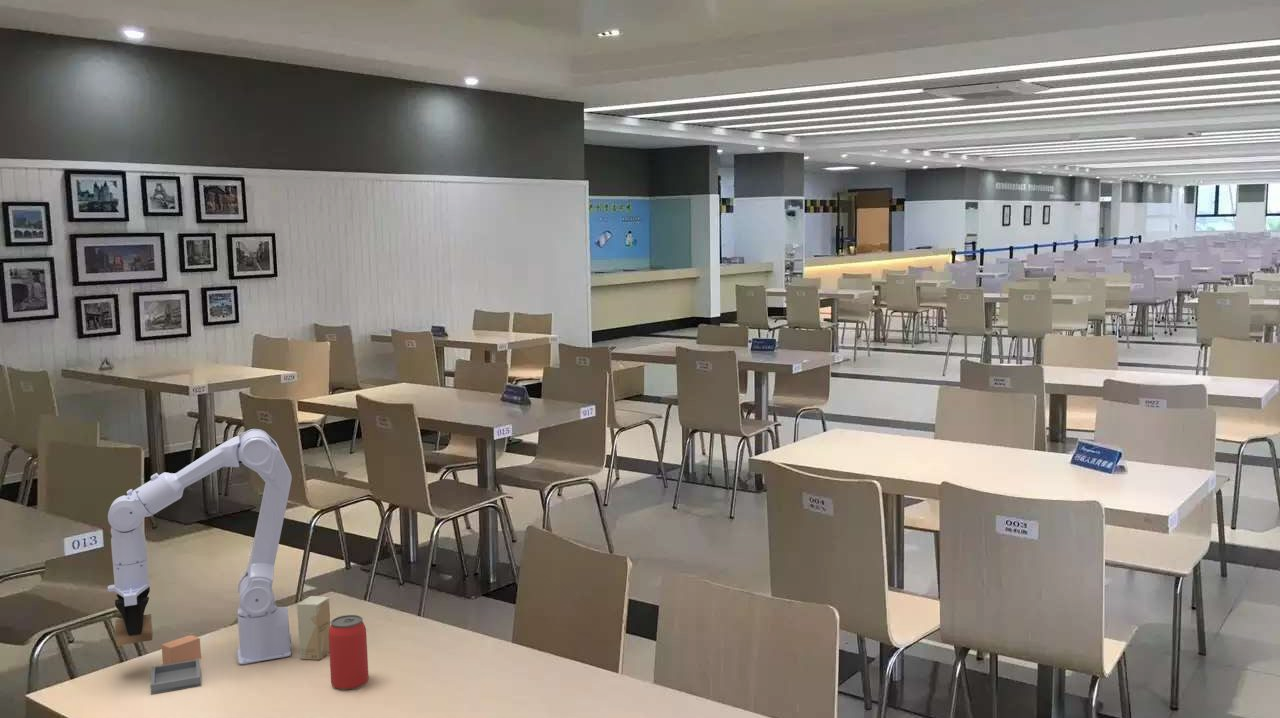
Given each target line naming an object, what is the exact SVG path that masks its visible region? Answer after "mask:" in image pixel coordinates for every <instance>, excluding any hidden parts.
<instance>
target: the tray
mask: <svg viewBox="0 0 1280 718" xmlns="http://www.w3.org/2000/svg"><path fill="white" fill-rule="evenodd" d="M200 662H201V661H200V658H198V659H195V660H190V661H184V662H178V663H172V664H166V665H164V664H161V665H160V664H159V665H155V666H151V671H150V672H151V673H150V676H151V677H150V692H151V693H150V695H157V694H161V693H162V694H163V693H167V692H173V691H178V690H180V691H181V690H184V689H189V688H196V687H201V665H200V664H201V663H200Z"/></svg>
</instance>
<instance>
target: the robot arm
mask: <svg viewBox="0 0 1280 718" xmlns="http://www.w3.org/2000/svg"><path fill="white" fill-rule="evenodd" d="M240 462H241V463H242V464H243V466H245V467H247V468H248V469H250V470H252V471H254V472H255V473H257V474H258V476H259V477H260V478H261V479H262V480H263V482H265V484H264V489H263V493H262V498H261V499H262V500H261V504H260V508H259V509H260V510H259V514H258V518H257V522H256V523H257V524H256V528H255V533H254V537H253V538H254V539H253V542H252V546H251V552H250V558H249V561H248V563H247V567H246V571H245V573H244V575H243V576H242V577H241V579H240V580H239V582H238V585H237V586H238V587H237V589H238V590H237V591H238V594H239V598H238V599H239V607H238V609H237V626H238V641H239V642H238V643H239V648H237V658H238V664H239V665H246V664H251V663H252V664H253V663H257V662H262V661H263V662H264V661H269V660H275V659H281V658H286V657H287V658H288V657H291V656H292V652H291V644H292V637H291V636H292V635H291V633H290V620H289V611H288V607H287V606H277V603H276V602H275V593H274V590H273V581H274V572H275V565H276V564H275V563H276V559H277V555H278V554H277V553H278V550H279V543H280V541H281V536H282V535H281V534H282V528H283V525H284V520H285V513H286V509H287V504H288V499H289V495H290V492H291V491H290V490H291V484H292V479H293V478H292V477H293V476H292V473H291V471H290V468H289V467H288V464H287V462H286V459H285V458H284V456H283V453H282V452H281V450H280V447H279V445H278V443H277V442H276V440H275V439H273V438H272V436H271V435H269V433H267V432H266V431H264V430H262V429H259V428H252V429H249V430H246V431H245V432H243V433H242V434H241V435H240V436H239V435H236V436H234V437H232V438H229V439H228V440H226V441H224V442H223V443H220V445H218V446H216V447H215V448H212V449H211V450H210V451H208V452H207V453H205V454H203V455H202V456H200V457H199V458H198V459H195V461H193V462H191V463H190V464H187V465H186V466H185V467H183V468H182V469H180V470H178V471H177V472H175V473H173V472H171V473H170V472H165V471H164V472H162V473H161V474H158V472H155V473H154V474H152V475H151V476H150V480H149V481H147V482H145V483H144V484H142V485H140V486H139V487H137V488H135V489H134V490H133V488H131V489H130V488H129V490H127V491H126V494H127V495H125V494H123V495H121V496H119V497H117V498H116V499H114V500H113V501H112V503H111V505H110V507H109V509H108V511H107V512H108V513H107V521H108V524H109V525H110V534H111V538H110V544H111V545H110V548H111V557H112V558H111V559H112V570H113V580H114V582H113V583H114V584H109V585H108V586H107V591H108V592H111V593H112V592H115V594H116V597H117V599H115V600H114V606H115V607H116V609H117V610H118V611H119V614H120V615H121V617H122V618H123V620H124V623H125V626H126V630H127V633H128V635H129V636H133V635H140V634H141V632H142V627H143V616H144V615H145V610H146V608H147V605H148V603H149V600H150V597H149V594H150V592H151V588H150V586H151V581H150V580H149V571H148V570H149V568H148V558H147V557H148V556H147V543H146V534H145V532H144V525H143V523H144V522H143V521H144V518H146V517H147V518H148V517H152V516H153V515H155V514H157V513H159V512H160V511H161V510H164V509H165V508H167V507H168V506H170V505H172V504H173V503H175V502H177V501H179V500H180V499H181V498H182V497H183V494H184V491H185V488H187V487H189V486H190V485H192V484H194V483H196V482H198V481H200V480H201V479H203V478H205V477H207V476H208V475H210V474H212V473H215V471H216V472H217V471H218V470H220V469H221V468H224V467H226V468H240Z"/></svg>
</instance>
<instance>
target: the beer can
mask: <svg viewBox="0 0 1280 718" xmlns="http://www.w3.org/2000/svg"><path fill="white" fill-rule="evenodd" d="M363 620H364V619H363V617H362V616H361V615H357V614H345V615H339V616H337V617H334V618H333V619H332V620H330V629H329V634H328V636H329V653H328V654H329V666H330V667H329V669H330V671H329V672H330V683H331V685H332V687H333V688H335V689H337V690H340V691H341V690H343V691H350V690H355V689H358V688H361V687H362V686H364V685H366V684H367V682H368V681H369V676H370V675H369V659H368V658H369V656H368V640H367V629H366V625H365V622H364V621H363Z"/></svg>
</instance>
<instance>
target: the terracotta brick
mask: <svg viewBox="0 0 1280 718" xmlns="http://www.w3.org/2000/svg"><path fill="white" fill-rule="evenodd" d="M201 651H202V650H201V638H200V637H197V636H195V635H192V634H189V635H186V636H183V637H180V638H177V639H174V640H170V641H168V642H165V643H161V657H162V665H166V664H172V663H178V662H184V661H190V660H196V659H200V658H202V653H201Z"/></svg>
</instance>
